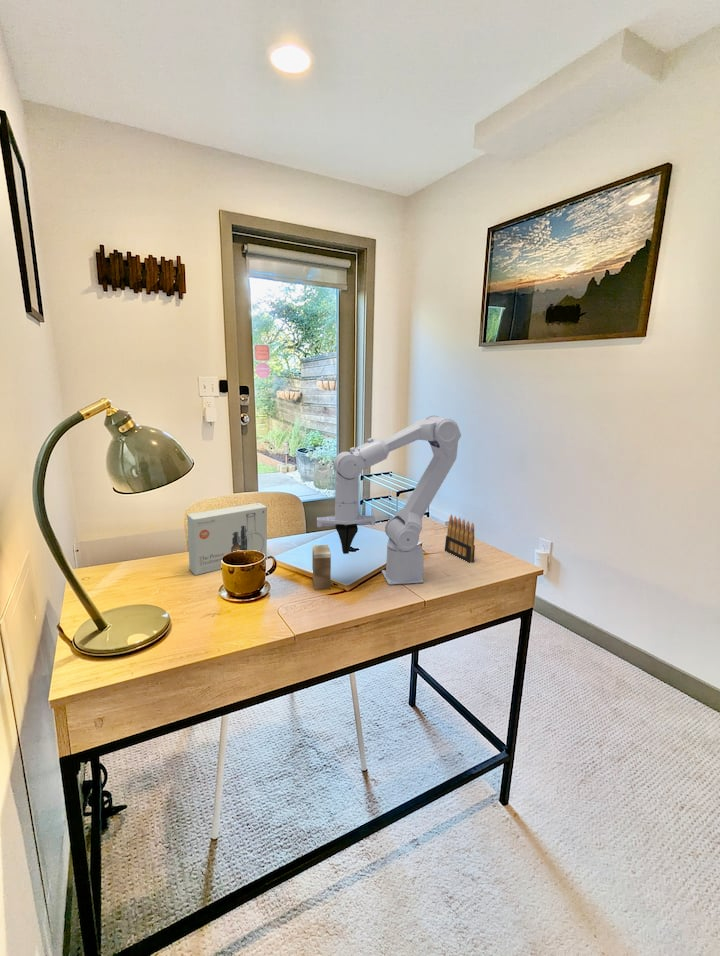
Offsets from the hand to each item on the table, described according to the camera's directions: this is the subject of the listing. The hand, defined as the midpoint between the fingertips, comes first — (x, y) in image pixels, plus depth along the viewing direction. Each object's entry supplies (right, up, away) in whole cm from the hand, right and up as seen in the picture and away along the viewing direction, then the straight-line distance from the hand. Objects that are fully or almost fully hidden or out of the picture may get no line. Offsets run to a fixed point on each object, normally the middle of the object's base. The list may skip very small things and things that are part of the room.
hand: (345, 552), depth 113 cm
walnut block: (-6, -8, +1) cm, 10 cm away
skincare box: (-33, -5, +12) cm, 35 cm away
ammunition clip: (+34, -5, +21) cm, 40 cm away
